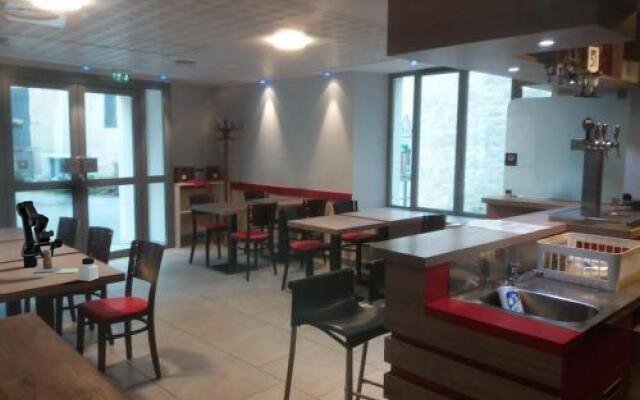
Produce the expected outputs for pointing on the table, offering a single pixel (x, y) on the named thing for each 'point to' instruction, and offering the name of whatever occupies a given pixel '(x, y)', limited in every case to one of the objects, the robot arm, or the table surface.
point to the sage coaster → (68, 271)
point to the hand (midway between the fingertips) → (47, 256)
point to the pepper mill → (47, 259)
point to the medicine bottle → (88, 270)
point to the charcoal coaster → (45, 270)
